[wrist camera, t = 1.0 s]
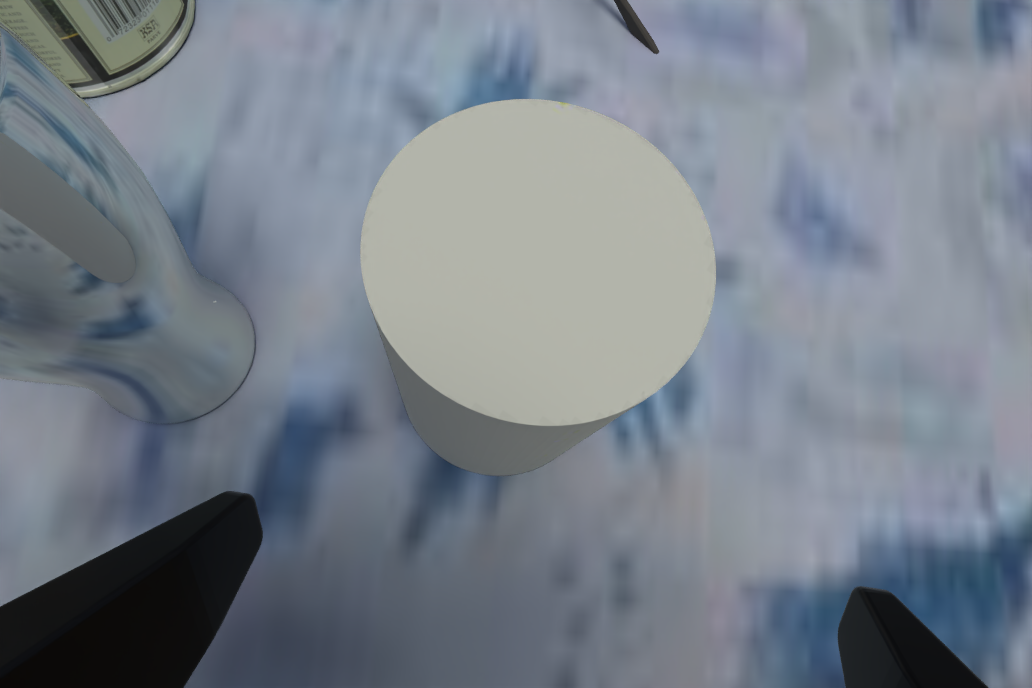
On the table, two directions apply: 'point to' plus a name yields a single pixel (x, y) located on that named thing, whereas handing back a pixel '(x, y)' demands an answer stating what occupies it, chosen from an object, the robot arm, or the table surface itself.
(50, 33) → the coffee can
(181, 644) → the robot arm
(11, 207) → the silver metal cylinder
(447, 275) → the off-white closed cylinder
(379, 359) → the table surface
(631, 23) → the sunglasses
